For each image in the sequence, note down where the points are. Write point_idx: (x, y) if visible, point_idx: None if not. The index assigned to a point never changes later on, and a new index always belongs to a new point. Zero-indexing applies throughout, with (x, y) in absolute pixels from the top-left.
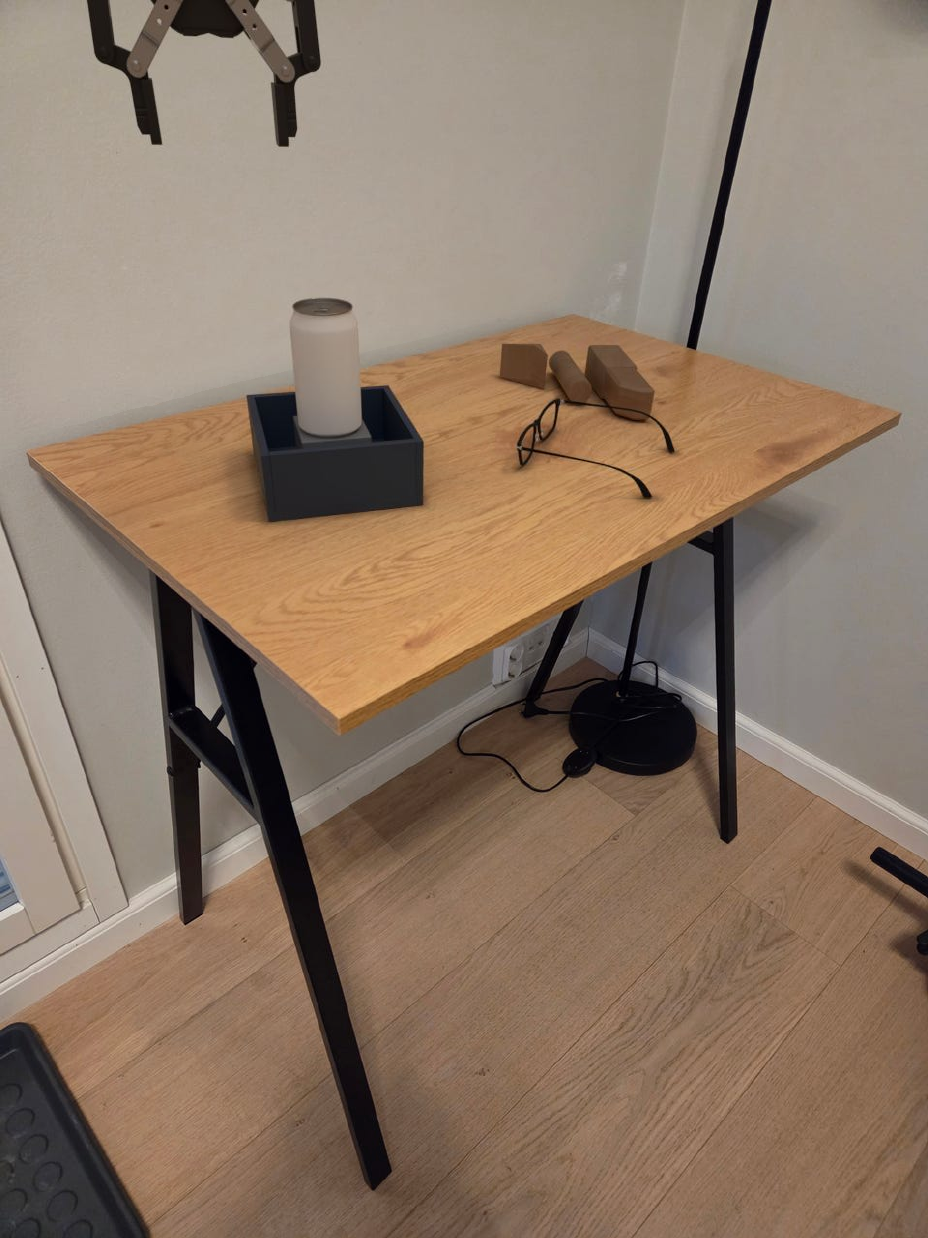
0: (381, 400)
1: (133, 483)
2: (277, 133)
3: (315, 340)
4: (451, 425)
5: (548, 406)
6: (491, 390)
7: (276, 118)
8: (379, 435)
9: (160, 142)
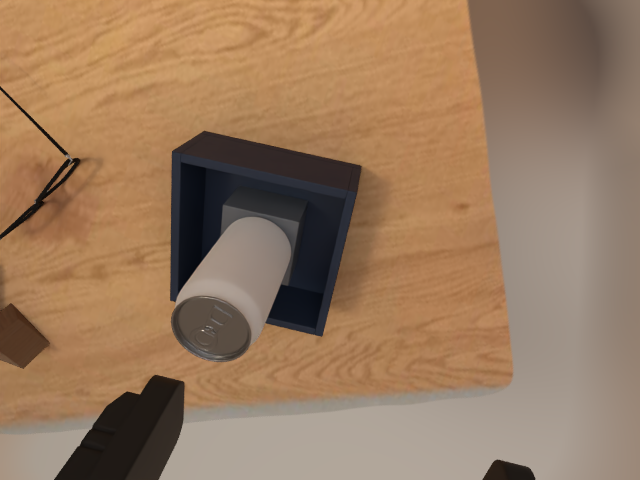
0: None
1: (453, 291)
2: (170, 416)
3: (243, 280)
4: (126, 272)
5: (11, 225)
6: (65, 322)
7: (152, 444)
8: None
9: (502, 462)
